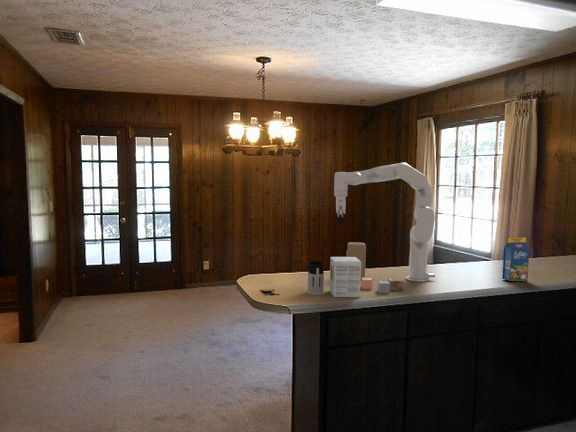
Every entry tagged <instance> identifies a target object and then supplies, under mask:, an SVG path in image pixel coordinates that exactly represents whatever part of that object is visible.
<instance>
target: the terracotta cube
mask: <svg viewBox="0 0 576 432" xmlns="http://www.w3.org/2000/svg"><path fill="white" fill-rule="evenodd" d="M360 288H361V289H362V290H372V289H373V279H372V278H371V277H365V278H362V279H361V285H360Z"/></svg>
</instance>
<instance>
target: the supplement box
mask: <svg viewBox="0 0 576 432" xmlns="http://www.w3.org/2000/svg"><path fill="white" fill-rule="evenodd" d="M329 258H330V261H329V262H330V266H329V274H330V275H329V292H330V293H331V295H332V296H333V297H334V298H361V283H362V279H361V261H360V260H359V259H357V258H356V257H347V256H330V257H329Z"/></svg>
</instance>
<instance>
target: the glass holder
mask: <svg viewBox="0 0 576 432" xmlns="http://www.w3.org/2000/svg"><path fill="white" fill-rule="evenodd" d="M324 264H325V263H324V262H323V261H317V260H316V261H315V260H314V261H312V260H311V261H309V262H308V271H307V272H308V273H307V290H306V293H307V294H309V295H313V296H315V295H316V296H317V295H323V294H325V291H324V283H325V282H324V279H325V277H324V275H325V270H324V269H325V267H324Z"/></svg>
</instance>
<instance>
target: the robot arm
mask: <svg viewBox="0 0 576 432" xmlns="http://www.w3.org/2000/svg"><path fill="white" fill-rule="evenodd" d="M398 179H401V180H403V182H406V183H407V184H408V185H410V187H411V188H412V189H414V190H415V193H416V201H415V207H414V208H415V209H414V214H413V216H414V219H415V220H416V221H415V225H413V226H412V227H411V228H410V231H409V245H410V246H409V265H408V266H409V267H408V268H409V270H408V275H407V276H406V277H405V279H406V280H408V281H410V282H417V283H418V282H419V283H425V282H429V281H430V278H436V274H435V273H431V272H430V273H429V272H427V266H428V263H427V262H428V243H429V241H430V240H431V239H432V237H433V231H434V227H435V226H434V225H435V218H436V217H435V212H434V210H433V209H432V205H433V190H432V186H431V185H430V183H429V179H428V177H427V176H426V175H425V174H424V173H422V172H420V171H419V170H417V169H416V168H414V167H412V166H411V165H409V164H408V163H407V162H400V163H394V164H386V165H380V166H376V167H373V168H369V169H364V170H360V171H351V172H347V171H346V172H345V171H337V172H335V173H334V184H333V185H334V186H333V189H334V190H333V195H334V196H333V197H335V211H336V214H337V215H336V223H337V225H343V224H344V215H345V214H346V204H347V203H346V197H348V188H349V187H348V185H351V186H357V185H361V184H363V185H364V184H370V183H380V182H387V181H393V180H398Z"/></svg>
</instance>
